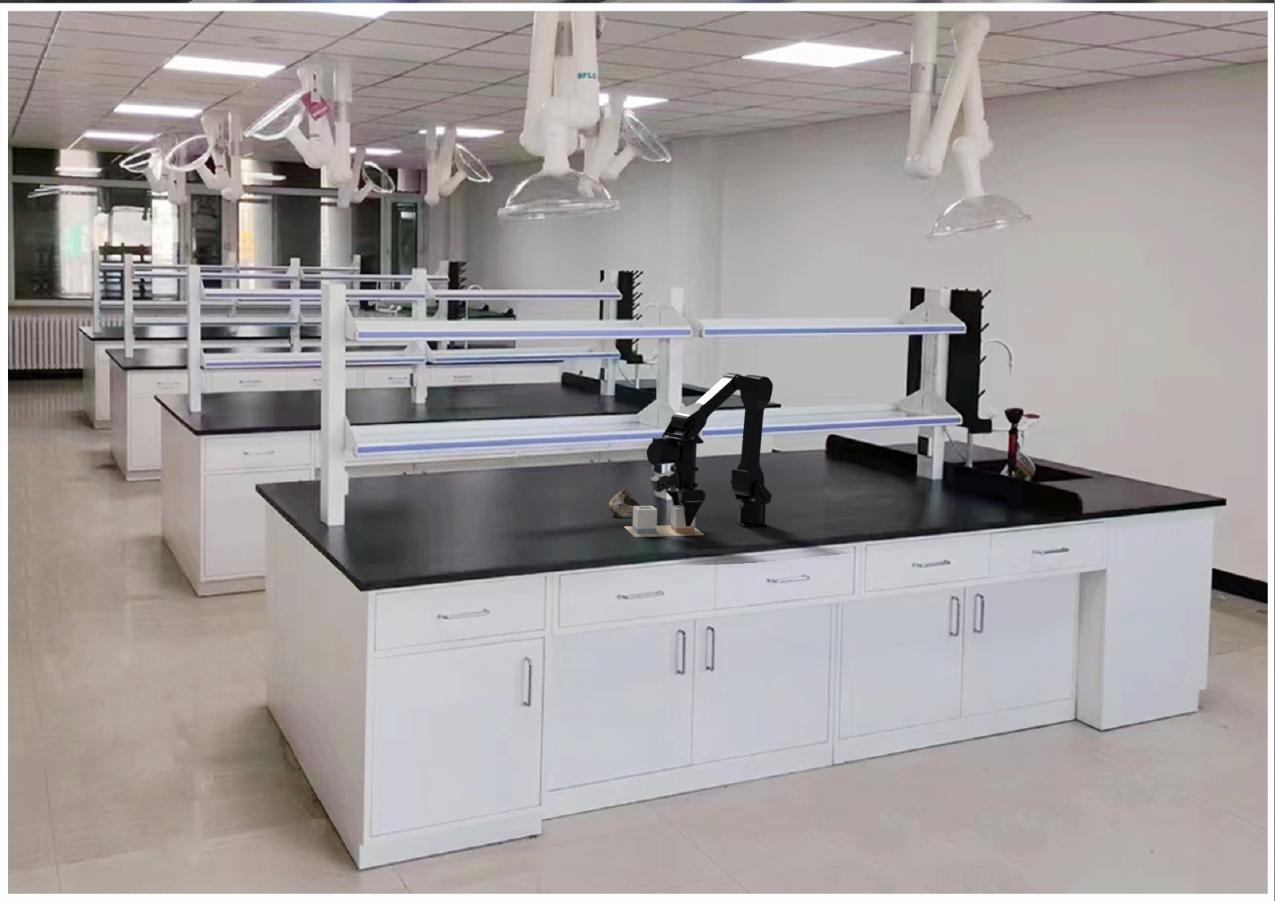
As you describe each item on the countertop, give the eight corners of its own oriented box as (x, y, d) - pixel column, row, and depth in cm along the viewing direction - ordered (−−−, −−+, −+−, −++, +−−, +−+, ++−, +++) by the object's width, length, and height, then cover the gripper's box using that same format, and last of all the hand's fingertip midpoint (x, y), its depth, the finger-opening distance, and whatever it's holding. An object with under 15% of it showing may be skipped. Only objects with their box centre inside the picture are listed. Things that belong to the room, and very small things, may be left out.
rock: (645, 509, 348) (616, 487, 346) (655, 503, 341) (626, 480, 340) (629, 534, 344) (600, 512, 342) (639, 528, 337) (610, 505, 336)
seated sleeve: (651, 528, 325) (652, 505, 324) (656, 533, 320) (657, 509, 319) (632, 529, 324) (633, 506, 323) (637, 533, 319) (637, 510, 318)
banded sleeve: (689, 527, 327) (690, 504, 326) (694, 531, 322) (695, 508, 321) (670, 528, 326) (671, 505, 325) (675, 532, 321) (676, 509, 320)
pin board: (691, 529, 331) (691, 513, 330) (704, 539, 319) (704, 523, 319) (623, 531, 327) (624, 515, 326) (634, 541, 315) (634, 525, 315)
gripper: (645, 456, 328) (643, 515, 331) (663, 468, 311) (661, 531, 313) (686, 455, 331) (684, 514, 333) (707, 468, 313) (705, 530, 316)
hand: (683, 522), depth 324 cm, fingers open, 9 cm apart
